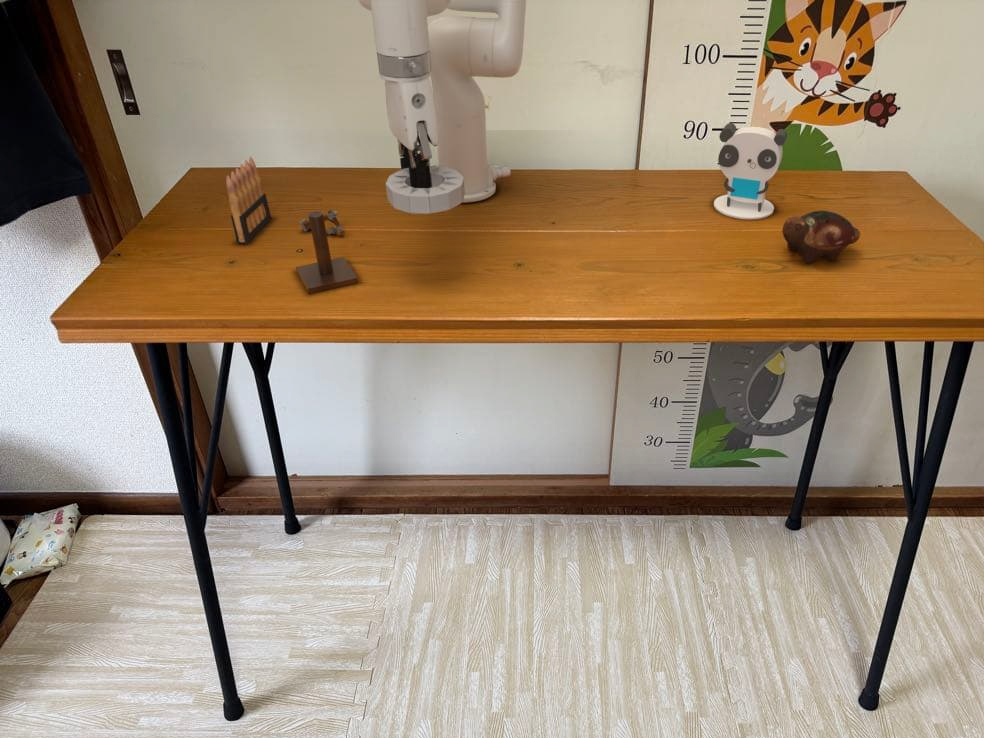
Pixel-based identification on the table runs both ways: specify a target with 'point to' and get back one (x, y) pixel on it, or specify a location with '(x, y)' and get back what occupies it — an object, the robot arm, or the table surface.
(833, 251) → the decorative turtle
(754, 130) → the panda figurine
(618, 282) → the table surface
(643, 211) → the table surface
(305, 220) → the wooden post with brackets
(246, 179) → the ammunition clip
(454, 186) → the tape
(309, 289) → the stand
